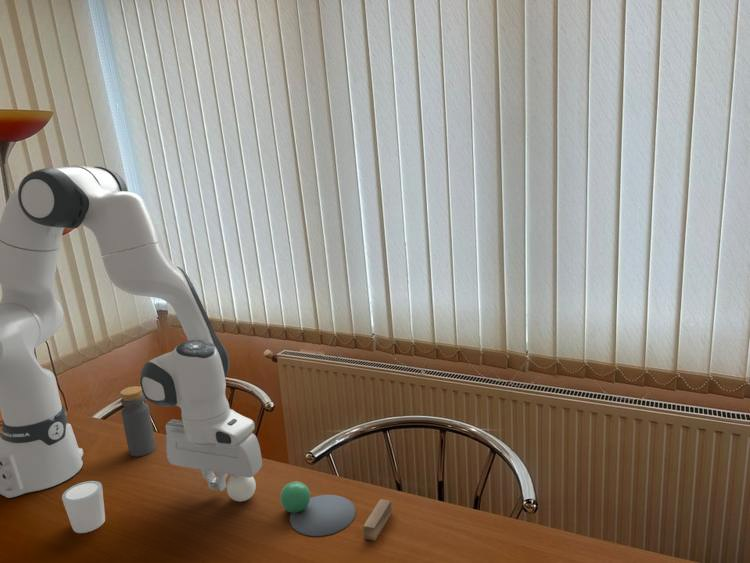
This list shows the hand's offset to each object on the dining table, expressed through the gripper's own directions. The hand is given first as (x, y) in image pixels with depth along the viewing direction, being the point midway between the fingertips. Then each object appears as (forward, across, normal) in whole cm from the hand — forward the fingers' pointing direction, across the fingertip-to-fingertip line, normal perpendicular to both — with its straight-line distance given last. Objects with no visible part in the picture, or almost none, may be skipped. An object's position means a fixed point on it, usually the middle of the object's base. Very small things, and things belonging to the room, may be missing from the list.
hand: (217, 488), depth 120 cm
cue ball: (-1, +6, 0) cm, 6 cm away
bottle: (+2, -29, +10) cm, 31 cm away
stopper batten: (+2, +34, 0) cm, 34 cm away
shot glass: (+2, -19, -14) cm, 24 cm away
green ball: (-1, +18, 0) cm, 18 cm away
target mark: (+2, +23, 0) cm, 23 cm away
